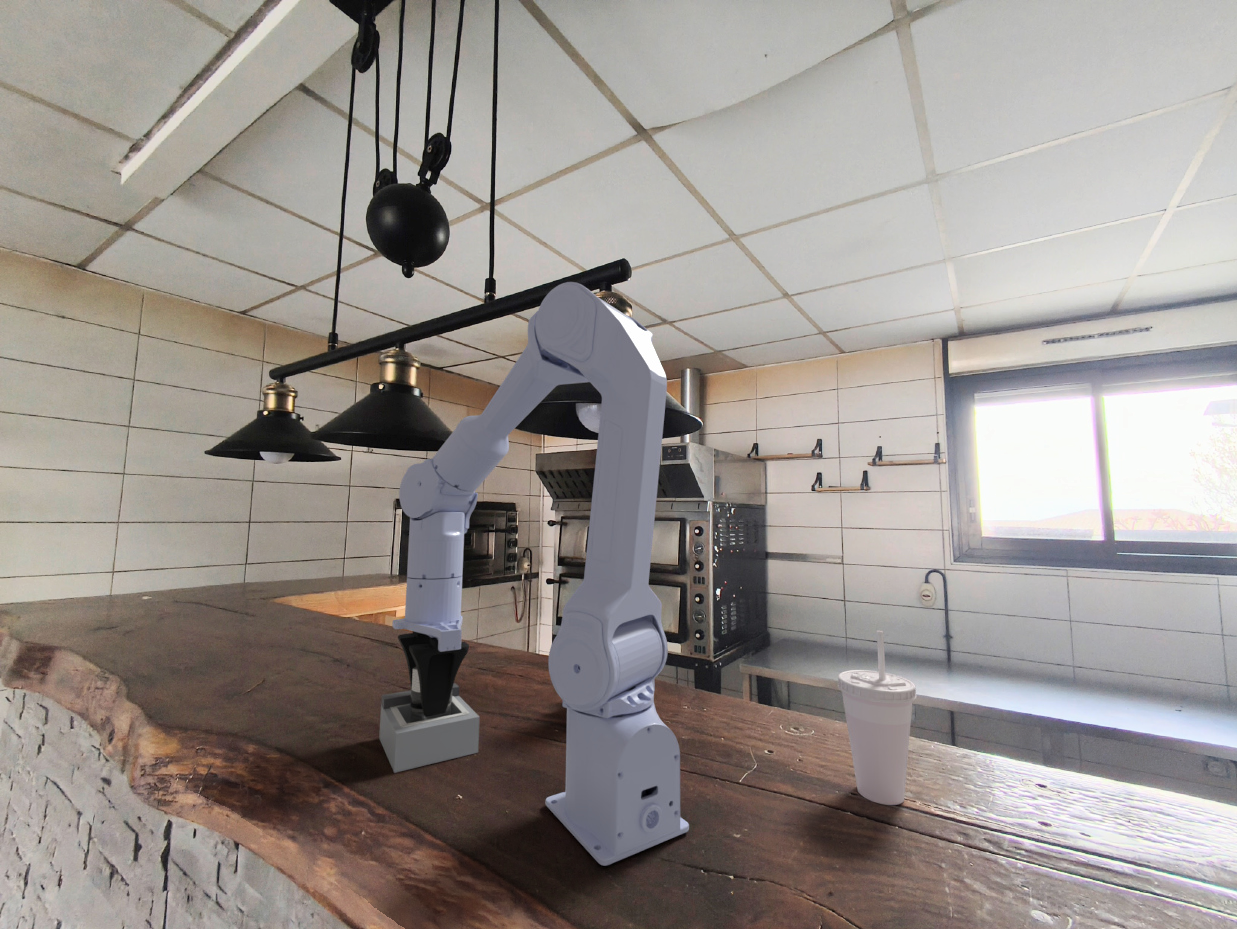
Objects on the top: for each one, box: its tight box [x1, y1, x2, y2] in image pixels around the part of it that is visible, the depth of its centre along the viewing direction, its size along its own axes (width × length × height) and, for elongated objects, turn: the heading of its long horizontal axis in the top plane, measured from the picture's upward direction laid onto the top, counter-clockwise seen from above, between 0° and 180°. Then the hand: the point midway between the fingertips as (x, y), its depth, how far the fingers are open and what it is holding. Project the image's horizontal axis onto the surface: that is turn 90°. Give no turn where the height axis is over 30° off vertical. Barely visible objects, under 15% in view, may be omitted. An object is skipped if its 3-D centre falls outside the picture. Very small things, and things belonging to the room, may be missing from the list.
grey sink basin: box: [378, 682, 480, 774], centre depth 54 cm, size 9×8×5 cm
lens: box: [410, 667, 452, 723], centre depth 55 cm, size 4×4×6 cm
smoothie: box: [837, 630, 918, 806], centre depth 46 cm, size 6×6×14 cm
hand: (429, 706), depth 54 cm, fingers closed on lens, 4 cm apart
